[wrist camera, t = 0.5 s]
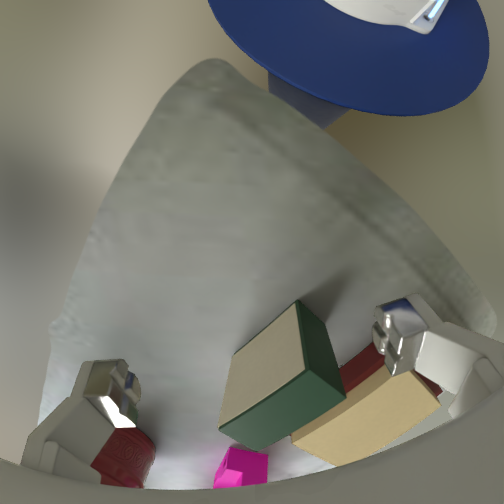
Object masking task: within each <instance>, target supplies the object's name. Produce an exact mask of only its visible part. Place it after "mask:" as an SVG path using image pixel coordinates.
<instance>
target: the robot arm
mask: <svg viewBox="0 0 504 504" xmlns="http://www.w3.org/2000/svg"><path fill="white" fill-rule="evenodd" d="M324 1H326V2H327V3H329V4H330V5H332V6H333V7H335V8H337V9H338V10H340V11H342V12H344V13H346V14H348V15H351V16H353V17H356V18H358V19H361V20H365V21H368V22H372V23H377V24H384V25H399V26H404V27H407V28H409V29H411V30H414V31H416V32H418V33H421V34H429V33H430V32H431V30H432V29H433V28H434V26H435V24H436V22H437V21H438V19H439V17H440V15H441V13H442V12H443V10H444V8H445V6H446V4H447V3H448V1H449V0H324ZM425 18H426V19H427V20H426V19H425ZM374 317H375V319H376V320H377V321H376V322H375V324H374V325H373V328H372V336H373V342H374V344H375V347H376V349H377V351H378V353H380V354H382V355H384V356H385V360H384V363H385V365H386V367H387V369H388V370H389V372H390V374H391V376H392V377H394V376H397V375H400V374H402V373H405V372H408V371H410V370H413V369H415V371H417V372H419V373H420V374H422V375H423V376H425V377H427V378H428V379H430V380H431V381H433V382H435V383H436V384H438V385H440V386H441V387H443V388H444V389H446V390H448V391H449V392H451V393H452V394H454V395H456V396H455V398H454V400H453V401H452V403H451V405H450V406H449V409H448V412H449V413H450V415H451V417H452V419H451V420H449V421H447V422H445V423H443V424H442V425H440V426H438V427H436V428H434V429H432V430H430V431H428V432H426V433H424V434H422V435H420V436H418V437H416V438H413V439H411V440H409V441H407V442H404V443H402V444H400V445H397V446H395V447H393V448H390V449H388V450H385V451H383V452H380V453H377V454H375V455H372V456H369V457H366V458H363V459H361V460H358V461H355V462H351V463H348V464H345V465H342V466H339V467H335V468H332V469H328V470H324V471H321V472H317V473H313V474H309V475H304V476H300V477H295V478H290V479H285V480H280V481H274V482H269V483H262V484H255V485H248V486H239V487H229V488H217V489H199V490H158V489H140V488H128V487H118V486H110V485H103V484H100V482H101V475H100V473H99V472H98V471H96V470H95V469H93V468H92V467H90V465H91V463H92V462H93V460H94V459H95V457H96V456H97V455H98V453H99V452H100V450H101V449H102V447H103V446H104V444H105V443H106V442H107V440H108V439H109V437H110V436H111V434H112V433H113V431H114V430H115V427H136V424H137V418H138V409H137V407H136V404H137V403H138V402H139V401H140V398H141V387H140V383H139V381H138V378H137V377H136V376H135V374H133V373H131V372H130V371H128V367H129V365H128V364H127V363H126V361H125V360H124V359H109V360H96V361H85V362H84V363H82V365H81V368H80V371H79V373H78V376H77V379H76V382H75V385H74V387H73V390H72V393H71V396H70V397H67V398H66V399H65V400H64V401H63V402H62V403H61V404H60V405H59V406H58V407H57V408H56V409H55V410H54V411H53V412H52V413H51V414H50V415H49V416H48V417H47V418H46V419H45V420H44V421H43V422H42V423H41V424H40V425H39V426H38V427H37V428H36V429H35V430H34V431H33V432H32V433H31V434H30V435H29V436H28V439H27V443H26V446H25V449H24V453H23V456H22V460H21V464H20V465H18V464H15V463H12V462H10V461H7V460H4V459H1V458H0V504H504V344H503V343H501V342H498V341H496V340H494V339H491V338H488V337H486V336H483V335H481V334H478V333H476V332H473V331H471V330H468V329H466V328H463V327H460V326H458V325H455V324H453V323H450V322H448V321H447V322H443V321H442V320H441V319H440V318H439V317H438V315H437V314H436V313H435V312H434V311H433V309H432V308H431V307H430V306H429V305H428V304H427V303H426V301H425V300H424V299H423V298H422V297H421V296H420V295H419V294H417V293H414V294H411V295H408V296H405V297H403V298H400V299H397V300H394V301H391V302H387V303H384V304H381V305H378V306H376V308H375V310H374Z"/></svg>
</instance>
